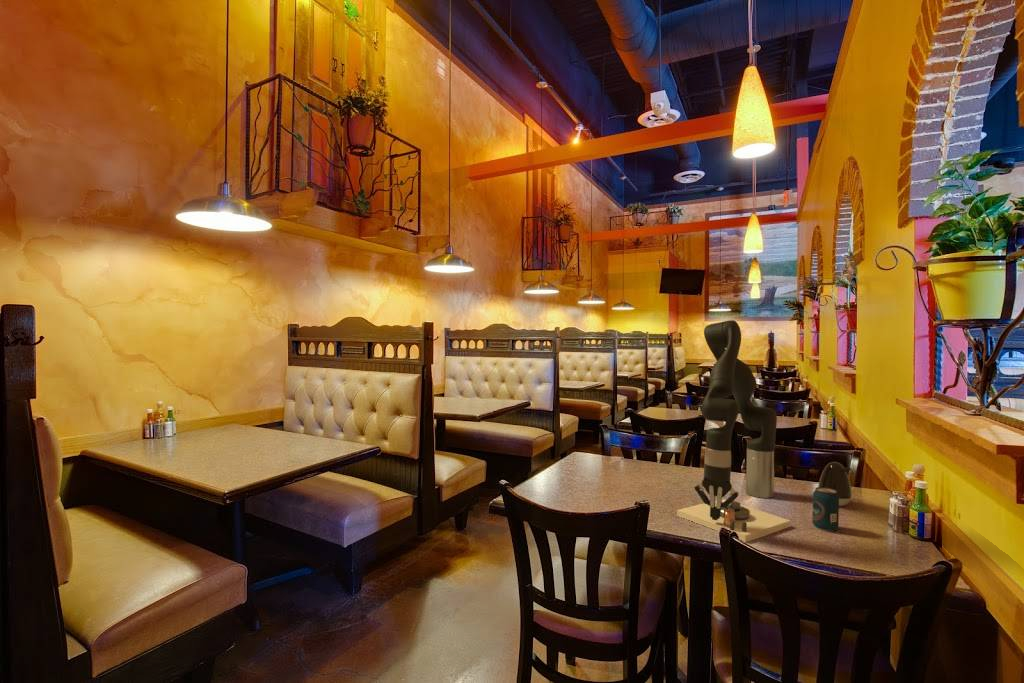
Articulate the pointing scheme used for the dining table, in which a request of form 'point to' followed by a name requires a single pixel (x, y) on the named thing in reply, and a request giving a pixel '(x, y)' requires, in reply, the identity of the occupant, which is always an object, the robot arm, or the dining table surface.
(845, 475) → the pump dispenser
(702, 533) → the dining table surface
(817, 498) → the soda can
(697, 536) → the dining table surface
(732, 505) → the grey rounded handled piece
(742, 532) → the base board
